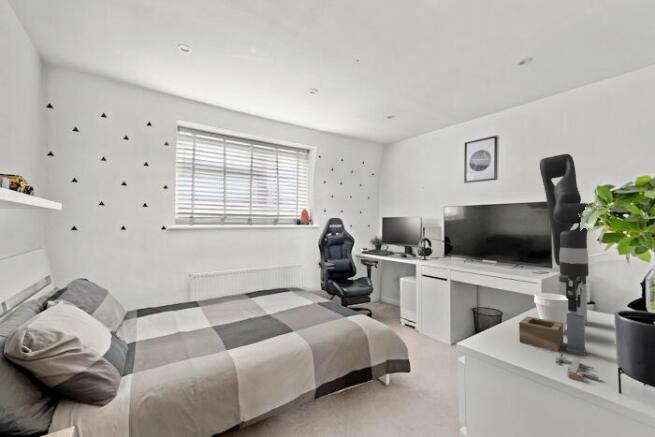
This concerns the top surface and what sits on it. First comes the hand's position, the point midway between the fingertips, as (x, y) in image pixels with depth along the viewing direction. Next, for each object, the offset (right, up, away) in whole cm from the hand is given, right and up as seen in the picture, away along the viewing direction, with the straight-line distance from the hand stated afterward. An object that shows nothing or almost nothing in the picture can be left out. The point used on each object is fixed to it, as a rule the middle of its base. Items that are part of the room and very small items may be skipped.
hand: (574, 308), depth 98 cm
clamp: (-11, -14, -13) cm, 22 cm away
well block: (-6, -14, +7) cm, 17 cm away
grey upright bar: (0, -14, -1) cm, 14 cm away
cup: (+8, -15, +19) cm, 26 cm away
